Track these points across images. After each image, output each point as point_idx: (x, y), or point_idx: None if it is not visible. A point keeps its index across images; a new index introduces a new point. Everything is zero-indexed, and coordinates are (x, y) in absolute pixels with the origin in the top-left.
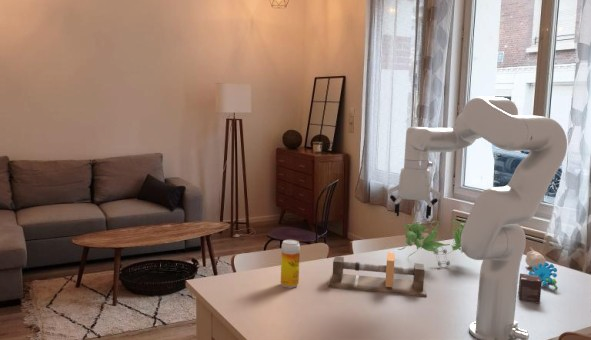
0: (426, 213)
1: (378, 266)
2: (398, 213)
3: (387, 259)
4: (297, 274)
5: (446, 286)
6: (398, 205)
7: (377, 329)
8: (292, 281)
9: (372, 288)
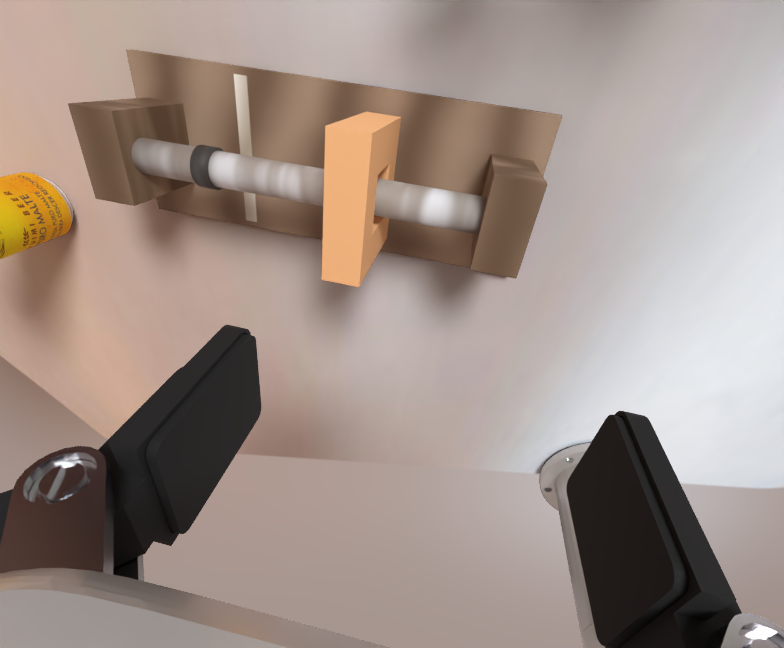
0: (586, 524)
1: (303, 200)
2: (241, 434)
3: (325, 266)
4: (37, 235)
5: (667, 137)
6: (173, 531)
7: (333, 444)
8: (50, 239)
9: (313, 231)
